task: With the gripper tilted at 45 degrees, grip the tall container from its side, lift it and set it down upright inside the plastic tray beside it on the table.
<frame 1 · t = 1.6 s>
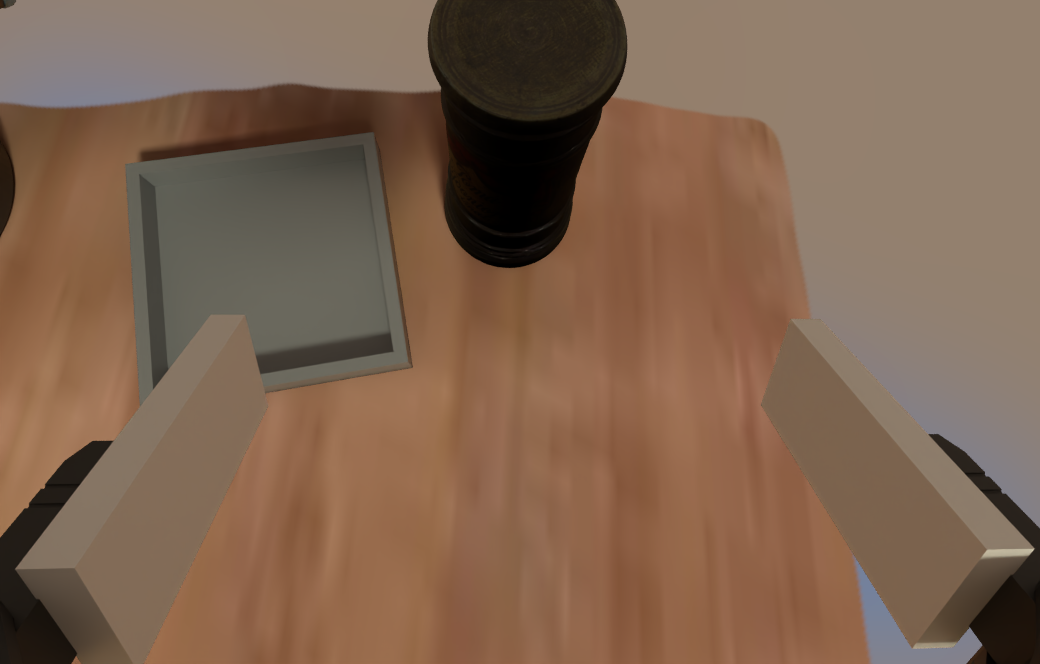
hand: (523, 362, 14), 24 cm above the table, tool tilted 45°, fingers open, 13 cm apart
container: (507, 211, 41), on the table
tray: (277, 273, 39), on the table
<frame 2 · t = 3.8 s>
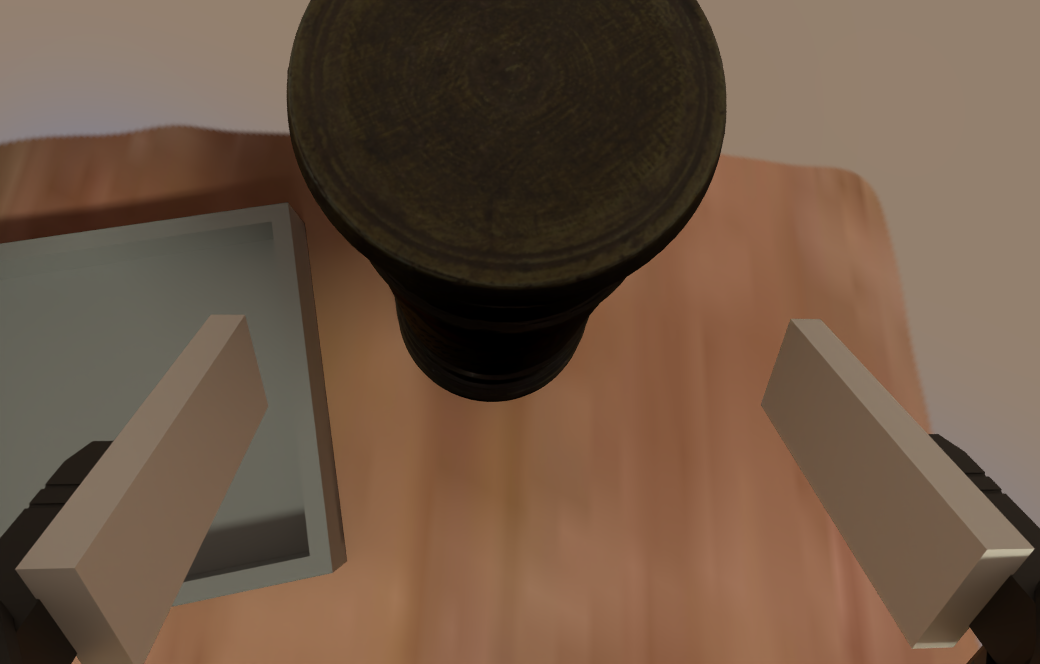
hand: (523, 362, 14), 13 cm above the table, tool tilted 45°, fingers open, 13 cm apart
container: (491, 311, 28), on the table
tray: (145, 414, 26), on the table
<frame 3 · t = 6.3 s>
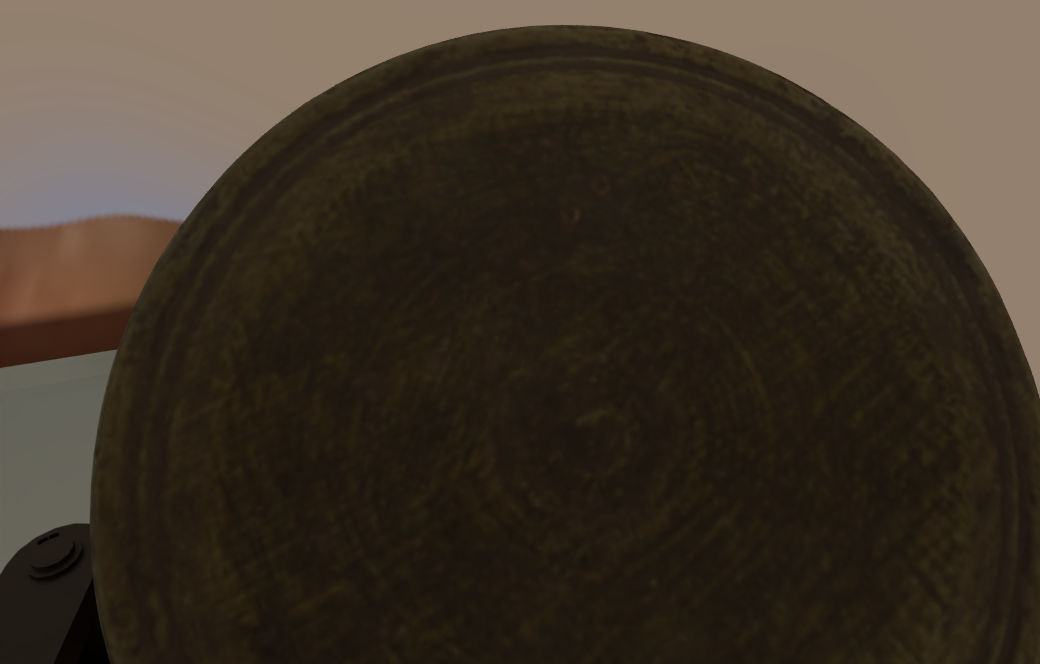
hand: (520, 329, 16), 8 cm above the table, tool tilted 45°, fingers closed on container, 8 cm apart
container: (511, 452, 22), on the table, touching gripper
tray: (67, 598, 20), on the table
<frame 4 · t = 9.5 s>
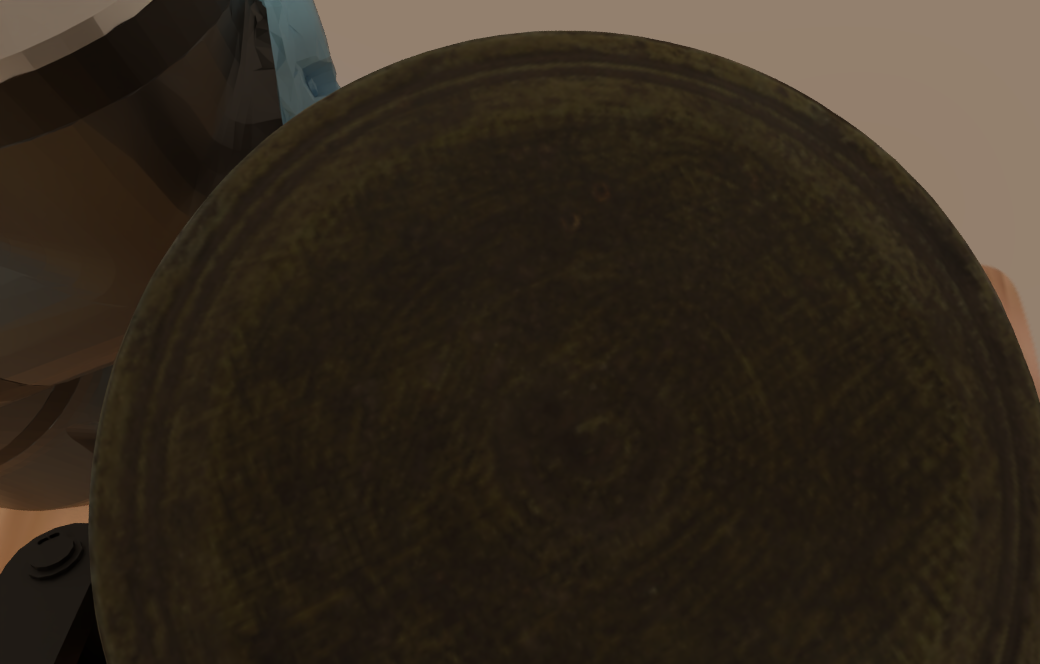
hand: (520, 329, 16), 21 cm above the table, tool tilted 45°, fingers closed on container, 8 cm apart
container: (511, 454, 22), point 13 cm above the table, touching gripper
when the fingers open (9 cm above the table, at t = 12.5 s): container moves 3 cm, resting on tray.
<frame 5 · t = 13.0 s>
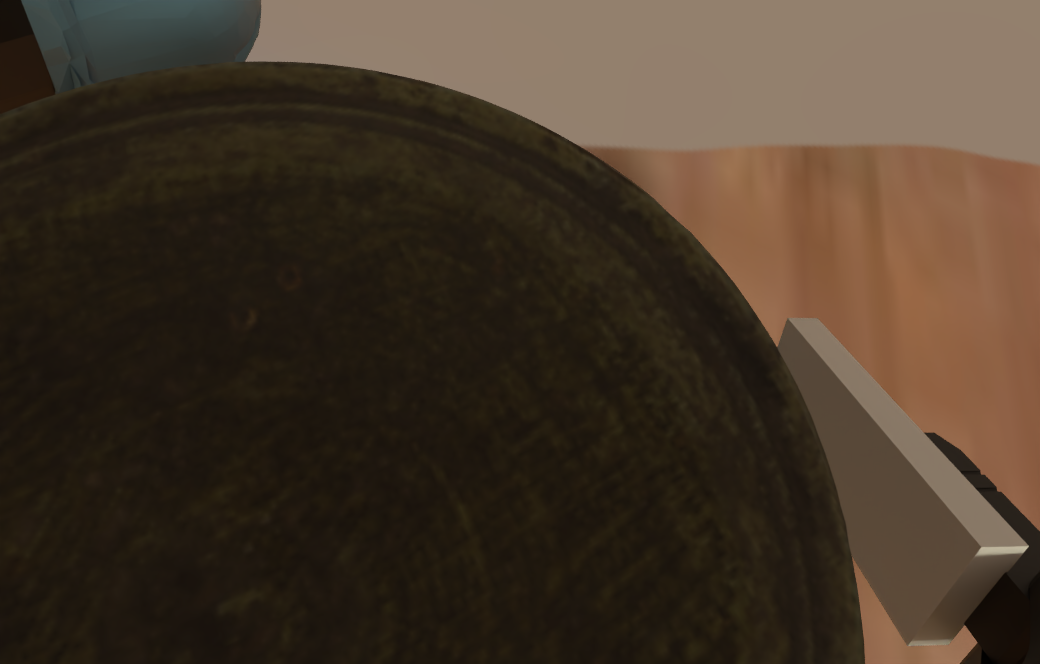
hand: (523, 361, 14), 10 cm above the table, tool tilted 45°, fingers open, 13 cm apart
container: (436, 484, 21), point 2 cm above the table, touching gripper, tray
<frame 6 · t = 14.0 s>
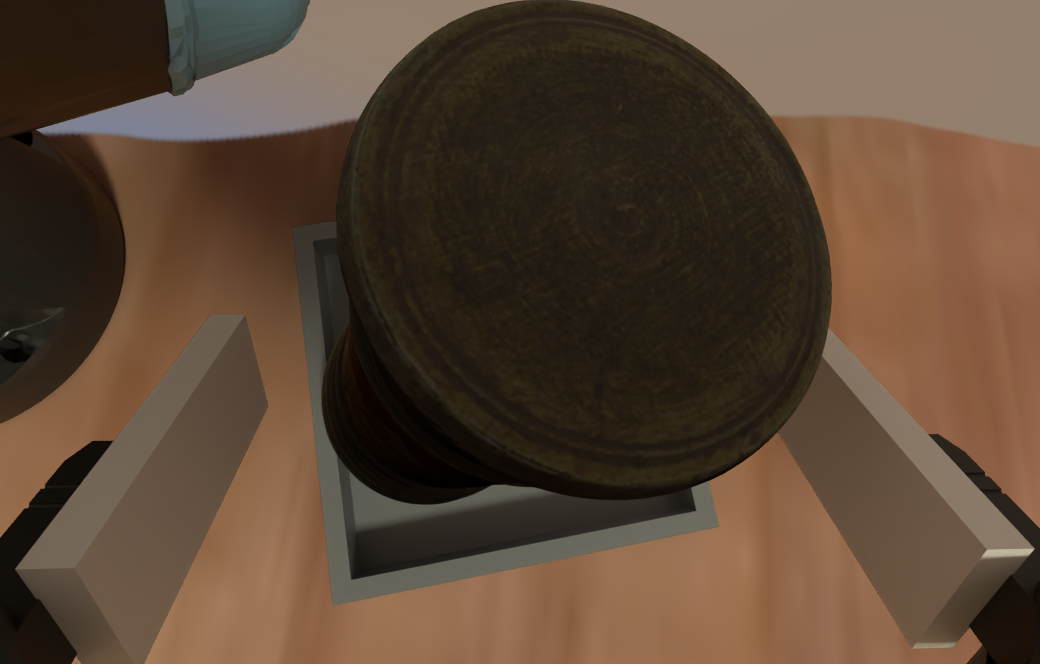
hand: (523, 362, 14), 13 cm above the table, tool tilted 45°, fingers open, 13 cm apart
container: (427, 397, 25), point 2 cm above the table, touching tray
tray: (497, 379, 27), on the table
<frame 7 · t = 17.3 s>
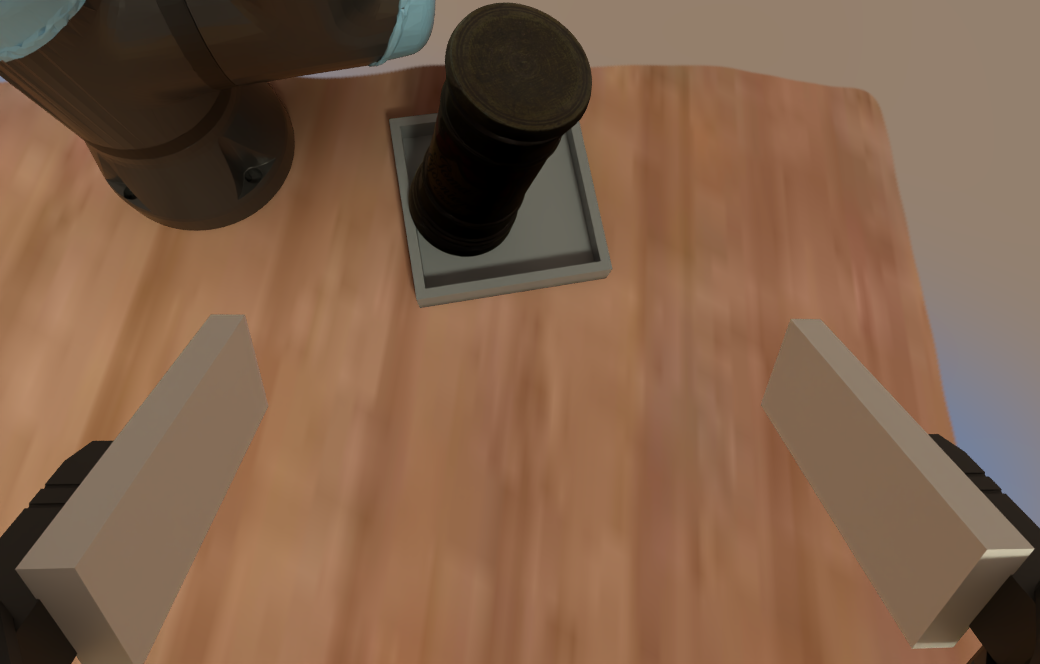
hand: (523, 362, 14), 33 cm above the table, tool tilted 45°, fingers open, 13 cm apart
container: (460, 209, 48), point 1 cm above the table, touching tray
tray: (498, 205, 50), on the table
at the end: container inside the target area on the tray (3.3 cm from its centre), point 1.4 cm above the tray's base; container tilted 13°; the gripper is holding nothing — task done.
